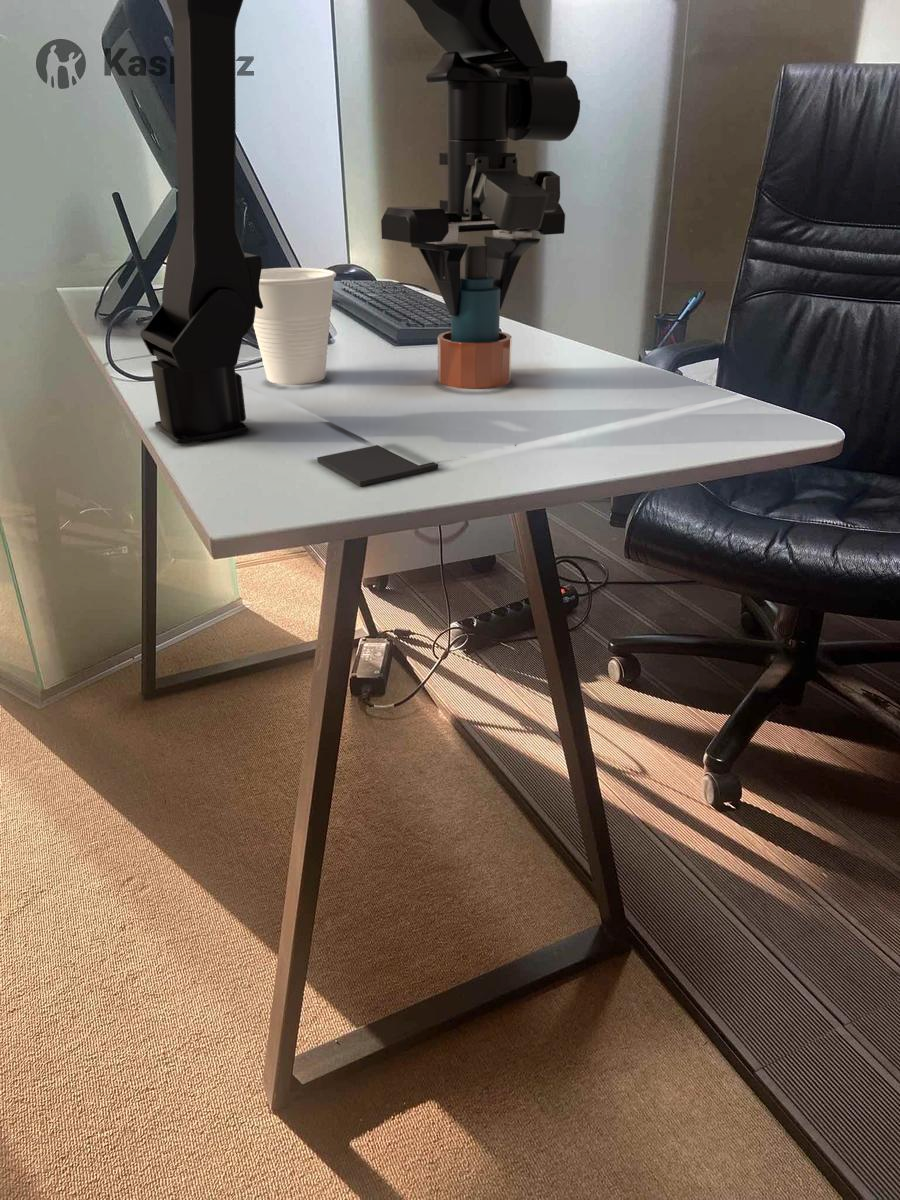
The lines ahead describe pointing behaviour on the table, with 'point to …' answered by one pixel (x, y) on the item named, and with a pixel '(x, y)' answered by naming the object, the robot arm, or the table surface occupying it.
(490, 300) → the bottle
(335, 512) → the table surface
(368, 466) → the coaster
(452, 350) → the holder
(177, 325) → the robot arm
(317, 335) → the cup
